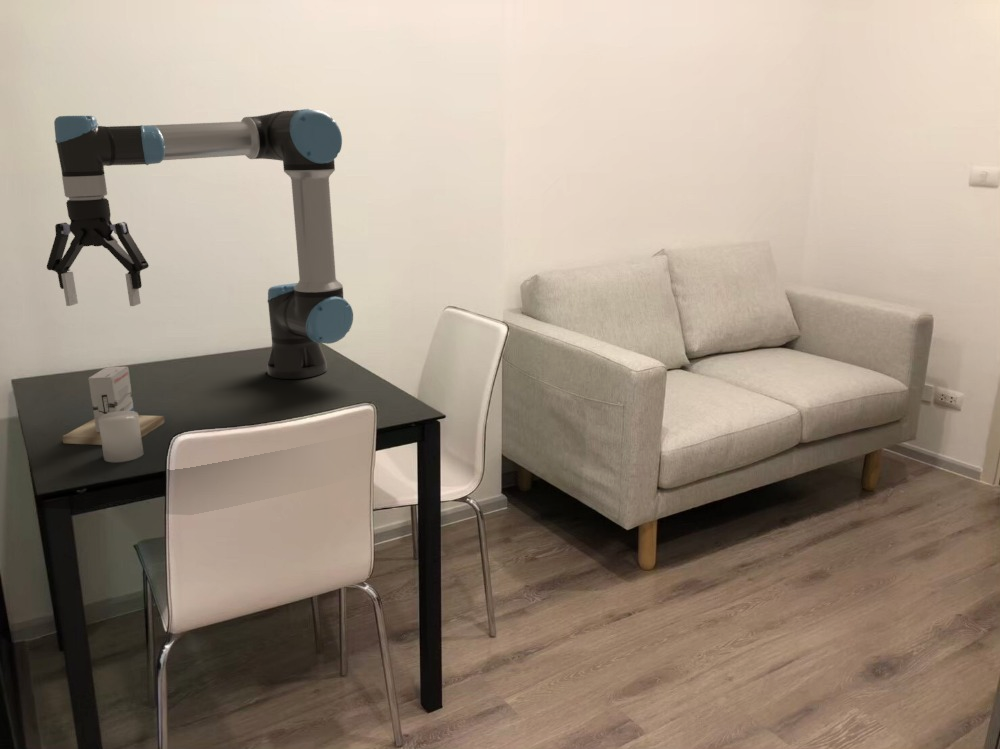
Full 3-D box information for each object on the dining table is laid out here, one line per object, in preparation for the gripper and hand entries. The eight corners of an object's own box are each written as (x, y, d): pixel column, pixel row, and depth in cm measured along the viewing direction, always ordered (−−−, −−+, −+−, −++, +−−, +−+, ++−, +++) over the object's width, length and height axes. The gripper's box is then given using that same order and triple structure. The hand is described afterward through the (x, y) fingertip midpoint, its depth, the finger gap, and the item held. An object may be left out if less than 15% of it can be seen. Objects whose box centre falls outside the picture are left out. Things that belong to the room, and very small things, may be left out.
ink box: (112, 419, 177) (105, 365, 174) (136, 418, 177) (129, 365, 174) (94, 433, 169) (86, 377, 166) (119, 432, 169) (111, 376, 166)
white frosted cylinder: (150, 449, 164) (145, 411, 162) (130, 463, 157) (125, 423, 155) (117, 448, 165) (111, 410, 162) (96, 461, 158) (90, 421, 156)
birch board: (164, 422, 179) (163, 416, 179) (128, 445, 166) (127, 438, 165) (104, 420, 181) (103, 414, 181) (63, 443, 168) (62, 436, 167)
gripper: (157, 195, 165) (171, 301, 171) (39, 197, 168) (57, 300, 174) (137, 199, 158) (152, 308, 164) (15, 200, 161) (34, 308, 167)
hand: (103, 304), depth 169 cm, fingers open, 13 cm apart
